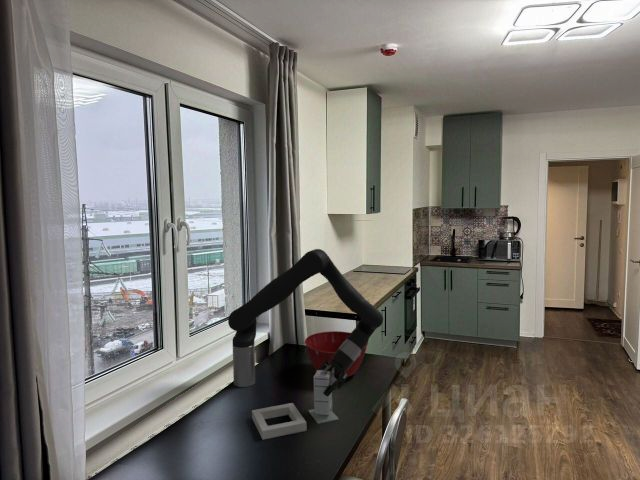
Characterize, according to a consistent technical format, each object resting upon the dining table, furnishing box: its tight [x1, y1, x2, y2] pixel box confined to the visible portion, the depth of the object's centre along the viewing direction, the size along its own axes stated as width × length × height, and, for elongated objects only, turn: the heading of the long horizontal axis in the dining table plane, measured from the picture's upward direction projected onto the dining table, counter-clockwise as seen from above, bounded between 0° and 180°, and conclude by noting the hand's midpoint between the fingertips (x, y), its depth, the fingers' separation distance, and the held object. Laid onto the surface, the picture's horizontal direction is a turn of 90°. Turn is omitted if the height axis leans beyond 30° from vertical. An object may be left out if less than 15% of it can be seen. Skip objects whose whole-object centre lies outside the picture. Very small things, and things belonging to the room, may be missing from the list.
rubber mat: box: [307, 408, 340, 425], centre depth 166 cm, size 10×8×1 cm
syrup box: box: [313, 370, 333, 415], centre depth 165 cm, size 6×6×14 cm
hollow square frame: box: [251, 402, 308, 441], centre depth 160 cm, size 16×16×3 cm
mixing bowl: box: [304, 330, 369, 378], centre depth 203 cm, size 28×28×15 cm
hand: (319, 390), depth 164 cm, fingers closed on syrup box, 7 cm apart
